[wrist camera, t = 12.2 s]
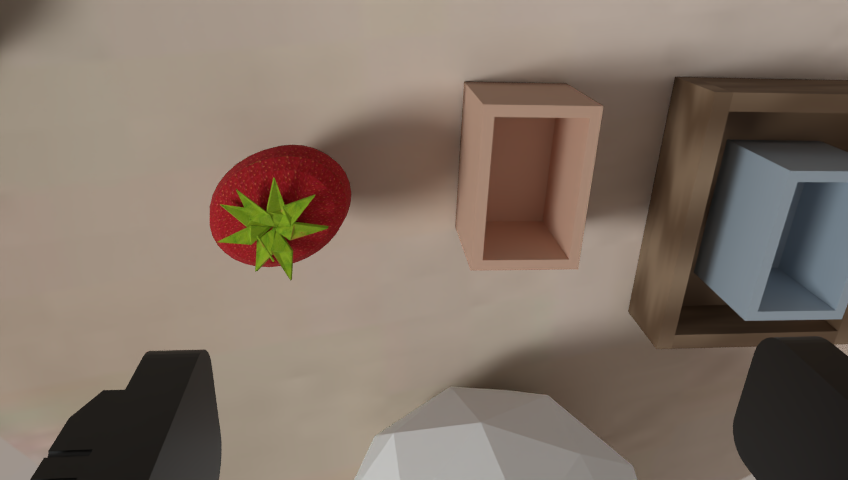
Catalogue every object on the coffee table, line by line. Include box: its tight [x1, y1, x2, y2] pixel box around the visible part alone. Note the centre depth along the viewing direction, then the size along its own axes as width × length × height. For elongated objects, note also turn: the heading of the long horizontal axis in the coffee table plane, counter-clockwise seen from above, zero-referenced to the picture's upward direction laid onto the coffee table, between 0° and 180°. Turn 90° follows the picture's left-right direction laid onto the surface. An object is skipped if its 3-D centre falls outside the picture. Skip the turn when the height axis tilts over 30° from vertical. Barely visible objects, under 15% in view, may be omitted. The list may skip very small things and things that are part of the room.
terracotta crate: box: [455, 82, 603, 270], centre depth 34 cm, size 9×6×6 cm, turn 178°
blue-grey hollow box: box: [694, 139, 848, 321], centre depth 36 cm, size 9×6×6 cm, turn 178°
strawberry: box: [210, 145, 351, 280], centre depth 32 cm, size 6×8×10 cm
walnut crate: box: [628, 77, 848, 349], centre depth 38 cm, size 16×13×4 cm
